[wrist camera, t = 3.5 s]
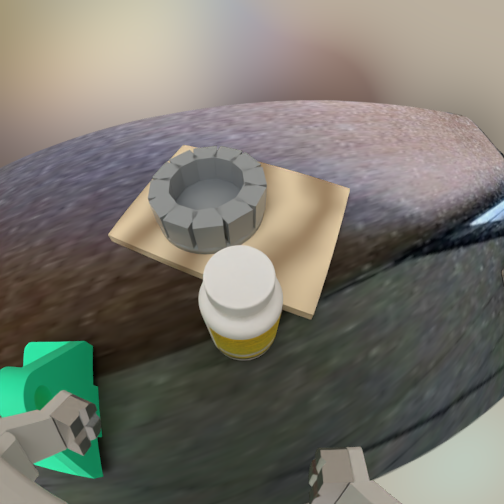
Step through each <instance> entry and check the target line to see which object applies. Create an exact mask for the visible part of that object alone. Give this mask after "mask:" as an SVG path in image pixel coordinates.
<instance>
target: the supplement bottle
mask: <svg viewBox="0 0 504 504" xmlns="http://www.w3.org/2000/svg"><path fill="white" fill-rule="evenodd" d="M282 307H283V292H282V288H281V285H280V283H279V281H278V279H277V278H276V274H275V269H274V266H273V264H272V262H271V260H270V259H269V258H268V257H267V256H266V255H265V254H264V253H263V252H261V251H260V250H258V249H256V248H253V247H250V246H245V245H235V246H230V247H227V248H224V249H222V250H220V251H218V252H217V253H215V254H214V255H213V256H212V257H211V258H210V259H209V261H208V262H207V264H206V266H205V269H204V273H203V283H202V285H201V287H200V291H199V308H200V311H201V314H202V317H203V319H204V321H205V323H206V326H207V328H208V330H209V333H210V335H211V337H212V339H213V341H214V344H215V345H216V347H217V348H218V349H219V350H220V351H221V352H222V353H223V354H224V355H226V356H228V357H230V358H232V359H236V360H251V359H254V358H257V357H259V356H261V355H262V354H264V353H265V352H266V351H267V350H268V349H269V348H270V346H271V345H272V343H273V341H274V339H275V336H276V332H277V328H278V324H279V320H280V316H281V312H282Z"/></svg>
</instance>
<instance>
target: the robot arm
mask: <svg viewBox="0 0 504 504" xmlns="http://www.w3.org/2000/svg"><path fill="white" fill-rule="evenodd" d="M96 411H97V408H96V405H95V404H94V403H91V402H89V401H87V400H85V399H82V398H80V397H78V396H76V395H74V394H72V393H70V392H67V391H65V390H62V391H60V392H59V393H58V394H57V395H56V396H55V397H54V398H53V399H52V400H51V401H50V402H49V403H48V404H47V405H45V406H44V407H43V408H42V409H41V410H40V411H39V410H34V411H30V412H25V413H21V414H17V415H13V416H8V417H3V418H0V504H68V503H67V502H65V501H63V500H61V499H60V498H58V497H56V496H55V495H53V494H52V493H50V492H48V491H47V490H45V489H44V488H42V487H41V486H39V485H38V484H36V483H35V482H34V481H35V480H36V478H37V477H38V476H39V473H38V471H37V469H36V468H35V467H34V465H33V464H34V463H36V462H39V461H41V460H43V459H46V458H48V457H50V456H52V455H55V454H57V453H59V452H61V451H63V450H66V449H67V448H68V449H70V450H72V451H74V452H76V453H78V454H80V455H83V456H84V455H85V454H86V452H87V451H88V449H89V448H90V447H91V440H93V439H96V438H97V437H98V435H99V434H100V431H101V420H100V418H99V416H98V415H97V414H96ZM309 484H310V485H311V486H312V488H311V490H310V492H309V504H402V503H400V502H399V501H398V500H397V499H395V498H394V497H393V496H392V495H391V494H389V493H388V492H387V491H386V490H384V489H383V488H382V487H381V486H379V485H378V484H377V483H376V482H375V481H374V480H373V481H370V480H369V476H368V471H367V467H366V463H365V459H364V455H363V451H362V448H361V447H335V448H318V449H317V450H316V453H315V459H314V460H312V462H311V465H310V469H309Z"/></svg>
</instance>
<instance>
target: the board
mask: <svg viewBox="0 0 504 504" xmlns="http://www.w3.org/2000/svg"><path fill="white" fill-rule="evenodd" d="M195 148H196V147H191V146H186V145H183V146H182V147H181V148H180V149H179V150H178V151H177V152H176V154H175V155H174V156H173V157H172V158H174V157H176V156H178V155H180V154H182V153H184V152H186V151H188V150H190V151H192V152H193V150H194V149H195ZM168 162H169V163H170V161H168ZM259 163H260V164H261V167H263V171H264V175H265V179H266V183H267V192H266V207H265V211H264V216H263V220H262V223H261V225H260V227H259V228H258V230H257V231H256V232H255V234H254V235H253V236H252V237H251V238H250V239H249V240H247V241H246V242H245V243H243V244H242V245H245V246H250V247H253V248H256V249H258V250H260V251H261V252H263V253H264V254H265V255H266V256H267V257H268V258H269V259H270V260H271V262H272V264H273V266H274V269H275V274H276V278H277V279H278V281H279V283H280V285H281V288H282V292H283V307H282V310H285V311H287V312H290V313H293V314H296V315H299V316H301V317H304V318H307V319H310V320H311V319H312V317H313V315H314V312H315V309H316V306H317V303H318V300H319V297H320V294H321V291H322V287H323V284H324V281H325V278H326V275H327V271H328V268H329V265H330V261H331V258H332V255H333V251H334V248H335V244H336V241H337V237H338V234H339V230H340V226H341V222H342V219H343V215H344V211H345V207H346V203H347V199H348V195H349V191H350V189H349V188H346V187H343V186H340V185H337V184H334V183H331V182H328V181H324V180H321V179H318V178H315V177H311V176H308V175H305V174H301V173H298V172H294V171H291V170H287V169H284V168H280V167H276V166H273V165H269V164H265V163H261V162H259ZM152 180H153V179H152ZM149 188H150V183H149V184H148V185H147V186H146V187H145V189H144V190H143V191H142V192H141V193H140V195H139V196H138V197H137V198H136V199H135V201H134V202H133V203H132V204H131V206H130V207H129V208H128V209H127V211H126V212H125V213H124V214H123V216H122V217H121V218H120V220H119V221H118V222H117V223H116V225H115V226H114V227H113V229H112V230H111V231H110V233H109V234H108V235H109V237H110V239H111V240H112V241H113V242H115V243H117V244H120V245H122V246H124V247H126V248H129V249H131V250H133V251H136V252H138V253H140V254H143V255H145V256H147V257H150V258H152V259H154V260H157V261H159V262H161V263H164V264H166V265H169V266H171V267H173V268H176V269H178V270H181V271H183V272H186V273H188V274H190V275H193V276H195V277H198V278H200V279H203V273H204V269H205V266H206V264H207V262H208V261H209V259H210V258H211V257H212V256H213V255H214V254H195V253H190V252H187V251H184V250H181V249H179V248H177V247H176V246H174V245H173V244H172V243H170V242H169V241H168V240H167V238H166V237H165V236H164V234H163V232H162V230H161V228H160V226H159V225H158V223H157V222H156V219H155V217H154V214H153V212H152V209H151V207H150V204H149V200H148V194H149Z"/></svg>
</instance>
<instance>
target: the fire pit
mask: <svg viewBox="0 0 504 504" xmlns="http://www.w3.org/2000/svg"><path fill="white" fill-rule="evenodd" d="M169 161H170V163H169V162H165V164H164V165H163V166H162V167H161V168H160V169H159V170H158V171H157V172H156V174H155V175H154V176H153V177H152V178H153V180H151V181H150V188H149V194H148V200H149V204H150V207H151V209H152V212H153V214H154V217H155V219H156V222H157V223H158V225H159V226H160V228H161V230H162V232H163V234H164V236H165V237H166V238H167V240H168V241H169V242H170V243H172V244H173V245H174V246H176V247H177V248H179V249H181V250H184V251H187V252H190V253H195V254H215V253H217V252H218V251H220V250H222V249H224V248H227V247H230V246H235V245H242V244H243V243H245V242H246V241H247V240H249V239H250V238H251V237H252V236H253V235H254V234H255V232H256V231H257V230H258V228H259V227H260V225H261V223H262V220H263V216H264V211H265V207H266V192H267V183H266V179H265V175H264V171H263V167H261V164H260V163H259V162H257V161H256V160H255V159H254V158H252V157H251V156H250V155H248V154H247V153H246V152H245V153H243V154H242V151H241V150H237V149H232V148H228V147H223V146H220V147H219V149H218V150H217V146H211V147H203V148H195V149H194V150H193V152H192V151H190V150H188V151H186V152H184V153H182V154H180V155H178V156H176V157H174V158H171V159H169Z"/></svg>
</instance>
